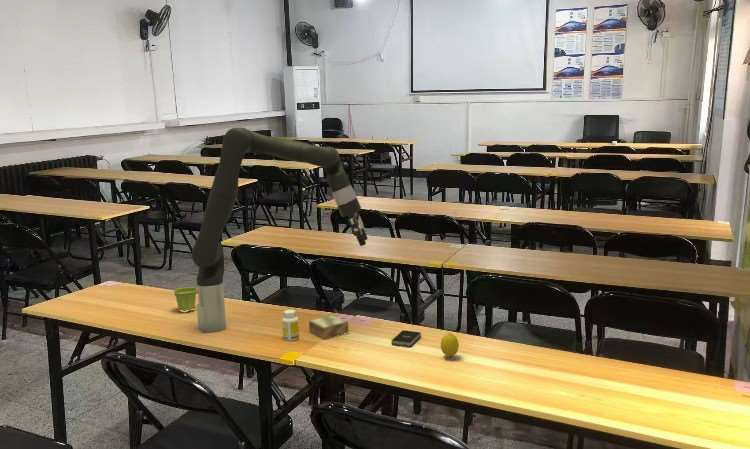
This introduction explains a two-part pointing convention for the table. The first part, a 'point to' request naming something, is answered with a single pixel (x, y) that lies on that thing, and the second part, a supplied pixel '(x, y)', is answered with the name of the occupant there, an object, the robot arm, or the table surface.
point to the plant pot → (186, 298)
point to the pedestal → (328, 327)
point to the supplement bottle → (290, 325)
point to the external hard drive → (406, 338)
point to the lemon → (449, 345)
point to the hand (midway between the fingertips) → (364, 242)
